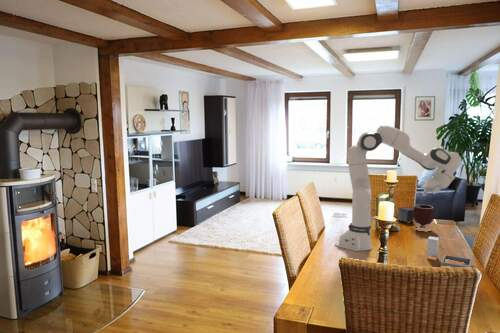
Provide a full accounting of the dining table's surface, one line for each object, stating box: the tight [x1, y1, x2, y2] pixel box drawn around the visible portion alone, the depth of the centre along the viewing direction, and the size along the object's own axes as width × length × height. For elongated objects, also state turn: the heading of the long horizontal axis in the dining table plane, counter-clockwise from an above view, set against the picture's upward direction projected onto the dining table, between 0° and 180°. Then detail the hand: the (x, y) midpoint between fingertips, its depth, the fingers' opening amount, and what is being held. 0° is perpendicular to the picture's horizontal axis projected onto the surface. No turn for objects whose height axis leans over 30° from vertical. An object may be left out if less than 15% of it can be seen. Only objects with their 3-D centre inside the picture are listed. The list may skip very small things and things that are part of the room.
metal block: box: [426, 236, 440, 258], centre depth 224 cm, size 5×5×12 cm
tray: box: [440, 254, 474, 268], centre depth 212 cm, size 14×14×4 cm
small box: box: [397, 206, 414, 223], centre depth 306 cm, size 11×6×10 cm, turn 22°
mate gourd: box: [412, 203, 435, 228], centre depth 282 cm, size 16×14×20 cm
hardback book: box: [374, 192, 394, 230], centre depth 290 cm, size 18×7×24 cm, turn 146°
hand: (428, 194), depth 224 cm, fingers open, 8 cm apart
